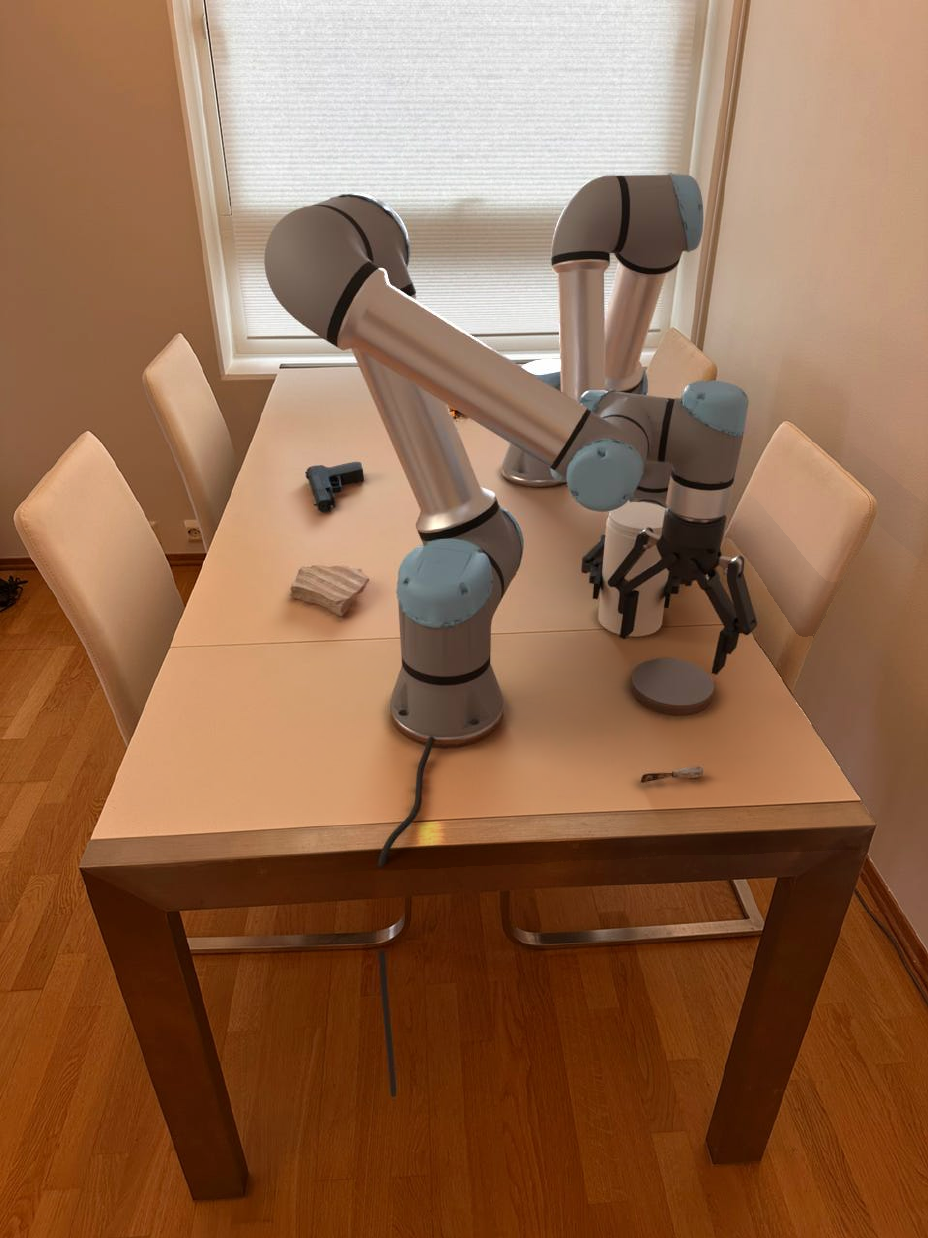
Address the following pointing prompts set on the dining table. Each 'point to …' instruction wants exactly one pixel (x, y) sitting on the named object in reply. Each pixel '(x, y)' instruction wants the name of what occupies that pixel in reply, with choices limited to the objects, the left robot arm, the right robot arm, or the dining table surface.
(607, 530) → the jar
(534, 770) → the dining table surface
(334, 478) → the handgun
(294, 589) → the stone
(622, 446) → the left robot arm
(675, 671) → the lid
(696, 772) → the putty knife
